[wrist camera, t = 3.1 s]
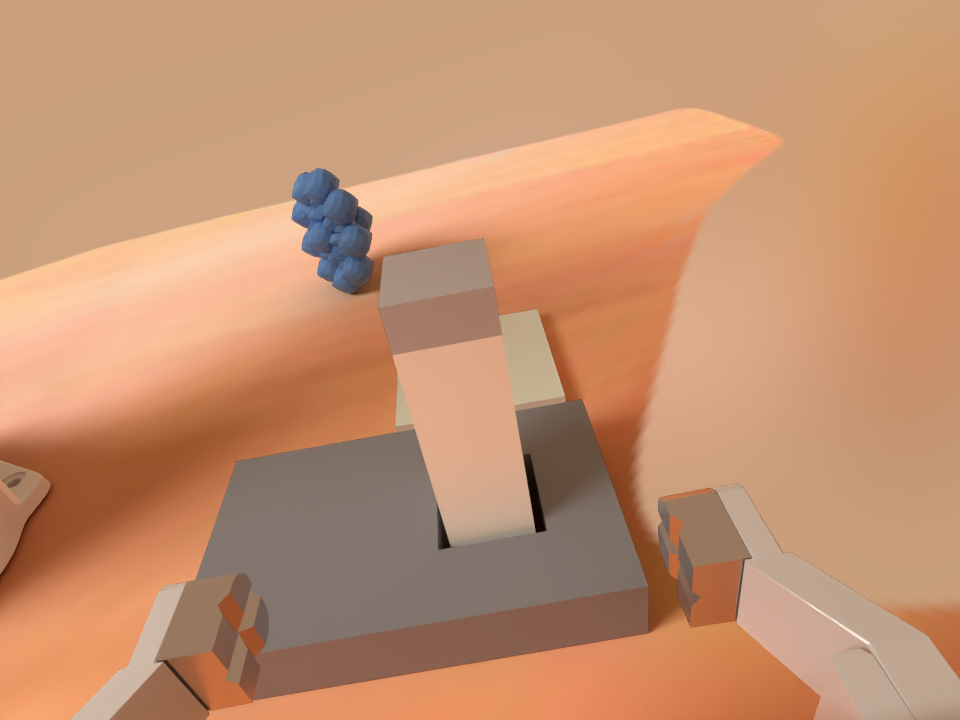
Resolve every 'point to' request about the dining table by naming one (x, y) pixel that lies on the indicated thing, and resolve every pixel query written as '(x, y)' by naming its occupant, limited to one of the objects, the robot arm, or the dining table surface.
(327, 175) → the grapes
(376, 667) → the block
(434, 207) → the dining table surface
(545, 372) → the sage pad
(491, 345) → the cream plug
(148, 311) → the dining table surface
